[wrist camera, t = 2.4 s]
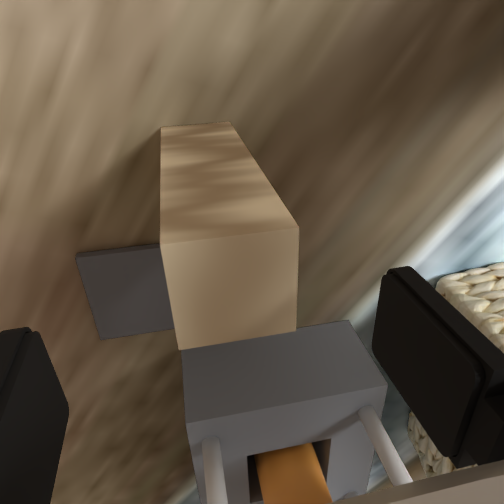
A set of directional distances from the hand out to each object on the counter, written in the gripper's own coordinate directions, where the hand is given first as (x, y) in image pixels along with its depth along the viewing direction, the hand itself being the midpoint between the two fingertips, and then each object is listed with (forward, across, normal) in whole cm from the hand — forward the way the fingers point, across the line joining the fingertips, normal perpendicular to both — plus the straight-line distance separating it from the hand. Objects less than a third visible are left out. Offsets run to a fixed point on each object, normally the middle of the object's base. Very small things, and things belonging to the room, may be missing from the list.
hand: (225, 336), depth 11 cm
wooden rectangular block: (+16, -1, 0) cm, 16 cm away
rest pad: (+16, +4, +9) cm, 18 cm away
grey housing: (+16, -5, +28) cm, 32 cm away
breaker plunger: (+12, -5, +23) cm, 26 cm away
